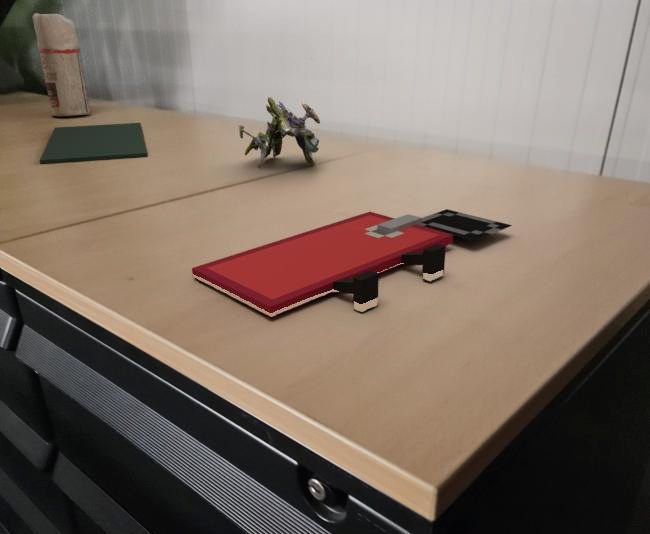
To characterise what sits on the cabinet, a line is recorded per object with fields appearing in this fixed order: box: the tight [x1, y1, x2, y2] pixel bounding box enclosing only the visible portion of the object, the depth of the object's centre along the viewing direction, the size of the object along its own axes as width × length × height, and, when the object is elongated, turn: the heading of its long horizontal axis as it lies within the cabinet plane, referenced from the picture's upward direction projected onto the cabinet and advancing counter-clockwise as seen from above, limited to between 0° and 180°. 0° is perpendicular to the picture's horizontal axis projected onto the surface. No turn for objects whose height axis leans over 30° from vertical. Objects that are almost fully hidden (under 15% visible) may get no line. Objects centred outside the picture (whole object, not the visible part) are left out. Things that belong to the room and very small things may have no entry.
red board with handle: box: [191, 208, 513, 313], centre depth 58 cm, size 30×3×15 cm
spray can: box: [31, 12, 92, 117], centre depth 130 cm, size 8×8×20 cm
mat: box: [39, 122, 149, 165], centre depth 109 cm, size 16×29×1 cm, turn 17°
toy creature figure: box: [238, 96, 321, 169], centre depth 91 cm, size 11×11×12 cm
